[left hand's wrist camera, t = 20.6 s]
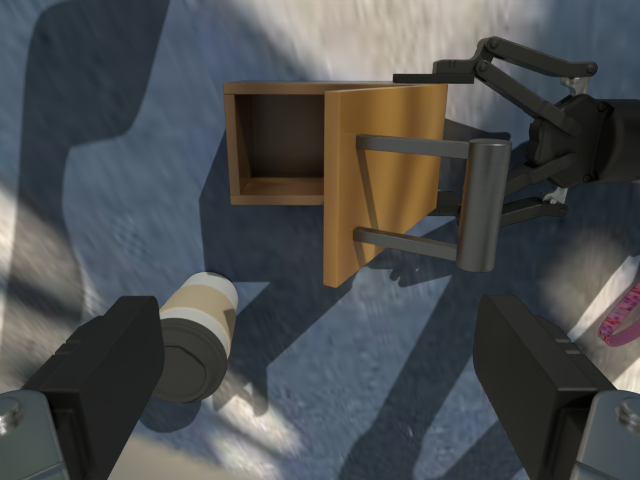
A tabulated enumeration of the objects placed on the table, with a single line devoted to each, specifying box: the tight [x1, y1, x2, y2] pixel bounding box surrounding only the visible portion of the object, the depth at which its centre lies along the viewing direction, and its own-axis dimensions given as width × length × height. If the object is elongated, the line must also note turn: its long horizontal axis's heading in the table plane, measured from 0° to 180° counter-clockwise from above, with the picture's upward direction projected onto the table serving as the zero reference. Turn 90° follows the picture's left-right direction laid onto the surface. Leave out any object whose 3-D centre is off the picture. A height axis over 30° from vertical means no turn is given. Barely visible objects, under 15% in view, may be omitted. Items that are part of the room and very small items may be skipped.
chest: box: [223, 81, 436, 205], centre depth 43 cm, size 18×10×10 cm, turn 90°
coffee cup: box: [152, 272, 238, 403], centre depth 47 cm, size 9×9×15 cm
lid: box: [323, 84, 512, 288], centre depth 28 cm, size 18×10×8 cm
